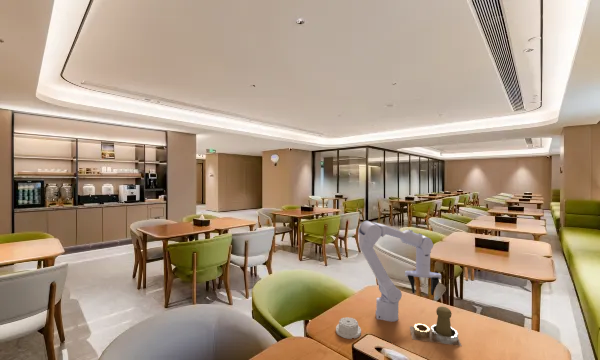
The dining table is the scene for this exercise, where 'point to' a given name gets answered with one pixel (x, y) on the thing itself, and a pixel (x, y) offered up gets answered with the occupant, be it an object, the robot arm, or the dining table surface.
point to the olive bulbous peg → (443, 321)
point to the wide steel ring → (444, 339)
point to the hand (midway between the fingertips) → (422, 293)
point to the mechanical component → (348, 328)
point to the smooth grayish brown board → (428, 338)
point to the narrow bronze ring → (421, 330)
